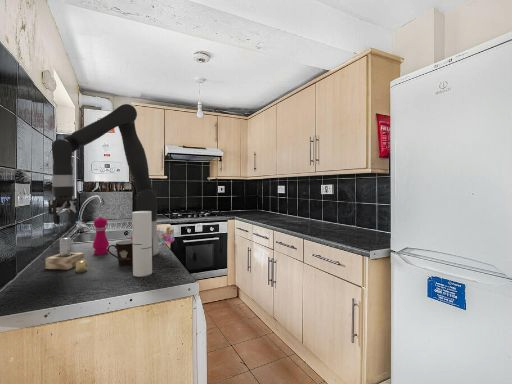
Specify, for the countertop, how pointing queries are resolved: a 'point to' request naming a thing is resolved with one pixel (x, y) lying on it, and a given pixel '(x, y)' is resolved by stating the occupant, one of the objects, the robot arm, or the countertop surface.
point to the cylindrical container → (142, 243)
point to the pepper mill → (100, 236)
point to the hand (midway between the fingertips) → (64, 222)
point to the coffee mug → (124, 252)
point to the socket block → (63, 261)
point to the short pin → (81, 266)
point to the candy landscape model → (164, 236)
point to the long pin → (65, 247)
